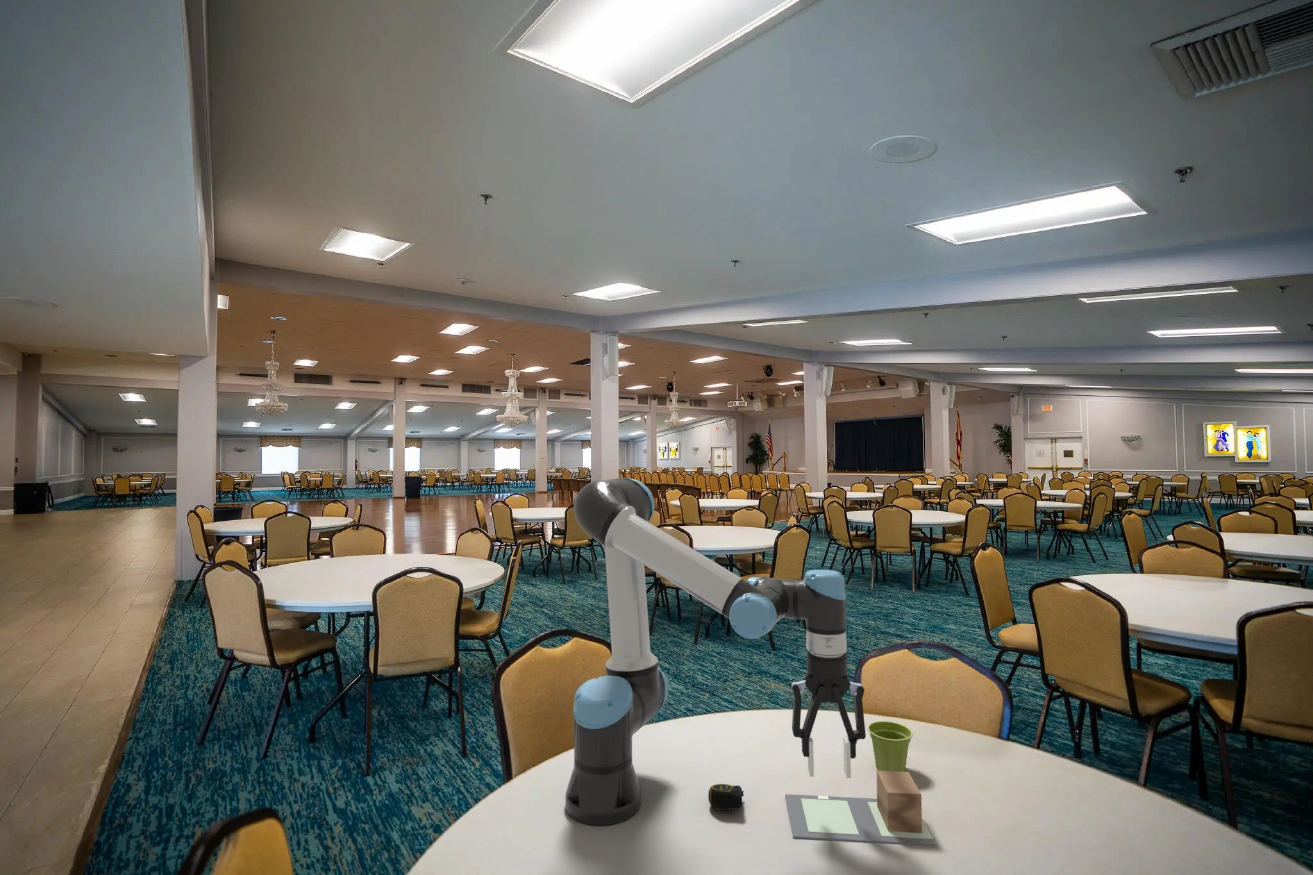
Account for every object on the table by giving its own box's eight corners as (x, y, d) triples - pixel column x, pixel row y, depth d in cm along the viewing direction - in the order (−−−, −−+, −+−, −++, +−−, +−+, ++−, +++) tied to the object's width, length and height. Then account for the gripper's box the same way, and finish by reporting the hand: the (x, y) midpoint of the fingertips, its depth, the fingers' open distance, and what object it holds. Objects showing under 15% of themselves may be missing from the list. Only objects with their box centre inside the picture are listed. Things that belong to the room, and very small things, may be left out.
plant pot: (920, 780, 133) (919, 739, 133) (876, 780, 133) (875, 739, 133) (903, 759, 142) (903, 720, 143) (862, 758, 143) (862, 720, 143)
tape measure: (742, 814, 118) (741, 792, 119) (707, 812, 120) (706, 791, 121) (744, 804, 125) (743, 783, 126) (710, 802, 126) (709, 782, 127)
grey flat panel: (793, 840, 112) (793, 835, 112) (785, 798, 126) (785, 793, 126) (936, 848, 110) (936, 843, 110) (912, 804, 124) (912, 799, 124)
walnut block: (888, 831, 114) (887, 792, 114) (877, 806, 122) (876, 770, 122) (922, 832, 113) (921, 794, 113) (908, 808, 121) (908, 771, 121)
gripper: (778, 657, 117) (780, 781, 116) (882, 659, 115) (885, 786, 114) (774, 645, 124) (776, 762, 124) (872, 647, 122) (875, 765, 122)
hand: (829, 773), depth 119 cm, fingers open, 6 cm apart
